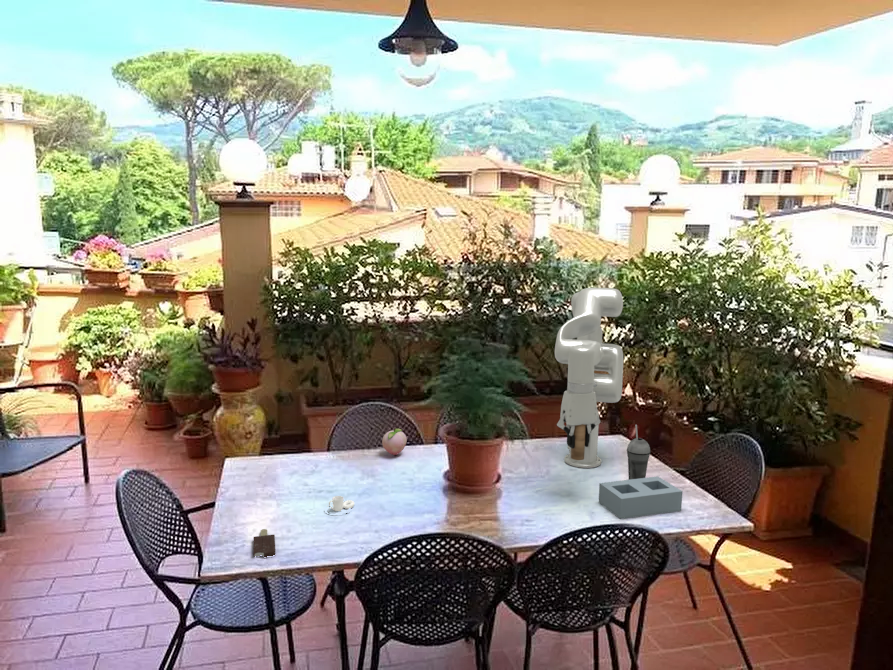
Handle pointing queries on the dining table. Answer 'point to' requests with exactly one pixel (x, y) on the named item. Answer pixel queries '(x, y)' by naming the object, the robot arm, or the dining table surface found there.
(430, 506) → the dining table surface
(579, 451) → the walnut peg
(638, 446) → the beverage cup
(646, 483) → the bore block
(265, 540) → the ice cream bar
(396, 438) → the decorative fruit
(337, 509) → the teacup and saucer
